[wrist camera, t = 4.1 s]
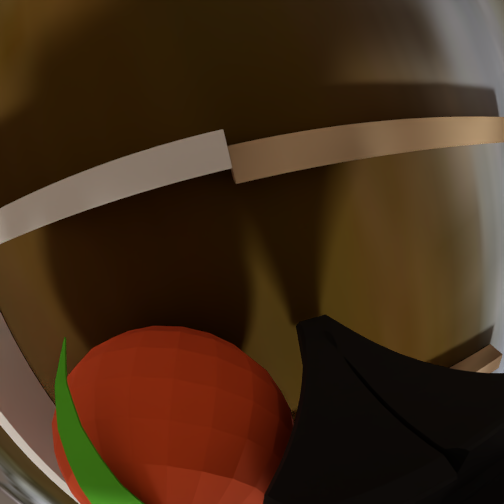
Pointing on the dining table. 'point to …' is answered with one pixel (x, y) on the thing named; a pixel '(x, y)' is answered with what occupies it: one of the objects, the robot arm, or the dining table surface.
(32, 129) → the dining table surface
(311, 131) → the lane rails
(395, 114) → the dining table surface
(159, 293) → the dining table surface
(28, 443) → the white arch
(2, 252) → the dining table surface
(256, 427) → the clementine
